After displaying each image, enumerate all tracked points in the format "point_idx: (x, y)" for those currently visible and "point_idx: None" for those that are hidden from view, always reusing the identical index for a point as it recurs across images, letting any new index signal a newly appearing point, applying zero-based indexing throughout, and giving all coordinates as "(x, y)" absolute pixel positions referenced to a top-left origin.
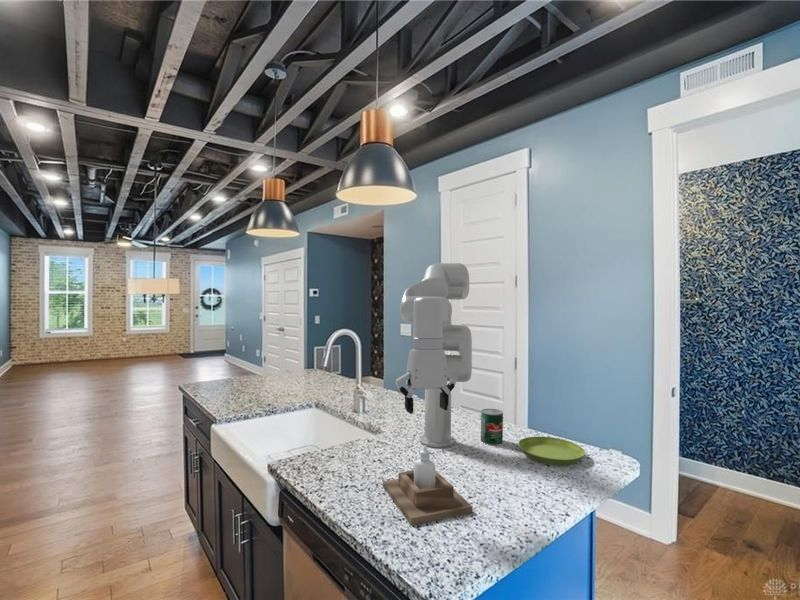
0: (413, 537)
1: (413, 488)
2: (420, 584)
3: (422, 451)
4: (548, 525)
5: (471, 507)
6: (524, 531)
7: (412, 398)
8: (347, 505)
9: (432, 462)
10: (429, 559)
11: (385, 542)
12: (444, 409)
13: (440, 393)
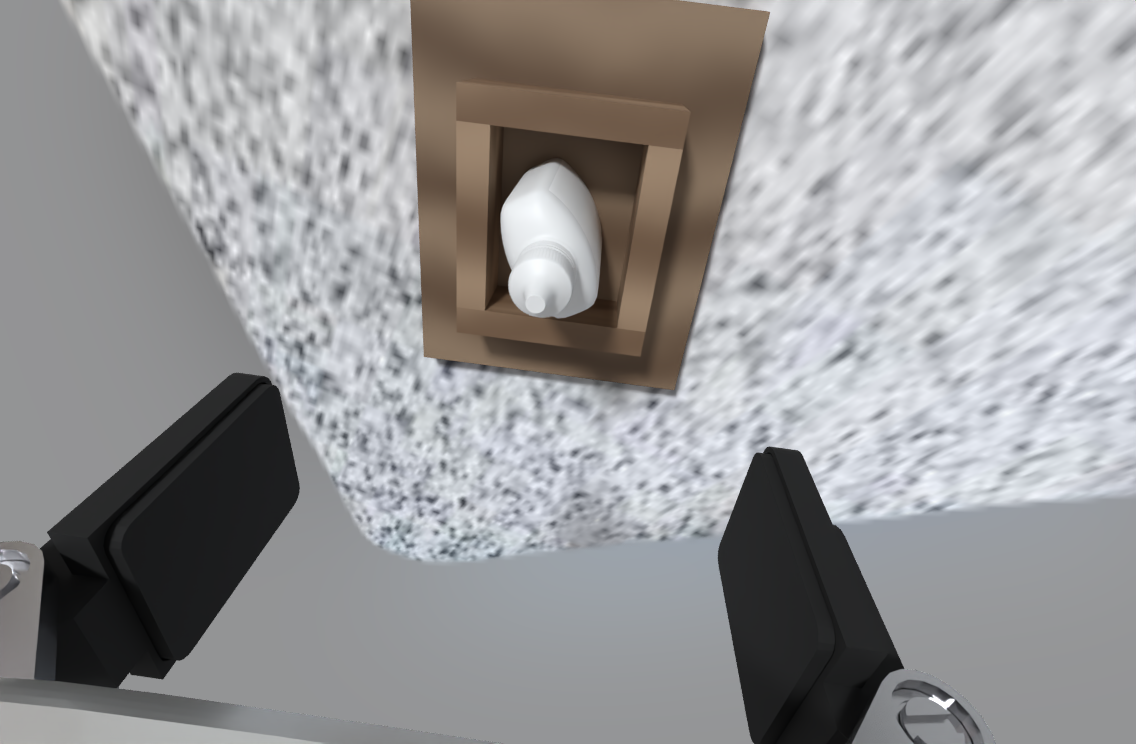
0: (414, 398)
1: (460, 293)
2: (368, 525)
3: (517, 294)
4: None
5: (670, 387)
6: (731, 507)
7: (160, 673)
8: (212, 95)
9: (584, 296)
10: (419, 481)
11: (326, 383)
12: (718, 552)
13: (815, 654)
